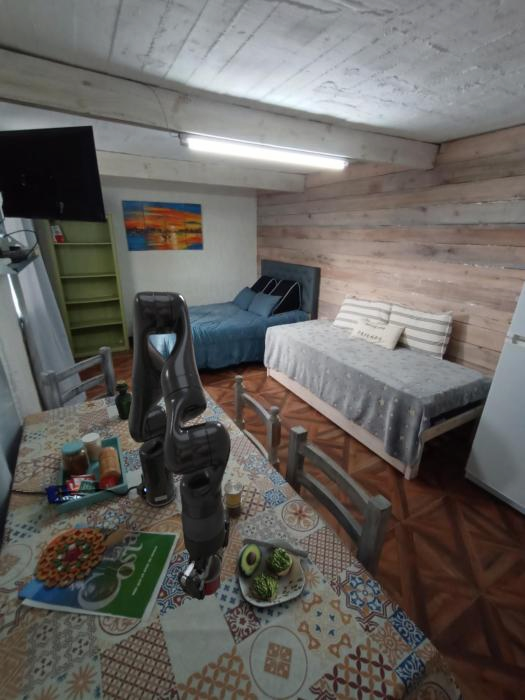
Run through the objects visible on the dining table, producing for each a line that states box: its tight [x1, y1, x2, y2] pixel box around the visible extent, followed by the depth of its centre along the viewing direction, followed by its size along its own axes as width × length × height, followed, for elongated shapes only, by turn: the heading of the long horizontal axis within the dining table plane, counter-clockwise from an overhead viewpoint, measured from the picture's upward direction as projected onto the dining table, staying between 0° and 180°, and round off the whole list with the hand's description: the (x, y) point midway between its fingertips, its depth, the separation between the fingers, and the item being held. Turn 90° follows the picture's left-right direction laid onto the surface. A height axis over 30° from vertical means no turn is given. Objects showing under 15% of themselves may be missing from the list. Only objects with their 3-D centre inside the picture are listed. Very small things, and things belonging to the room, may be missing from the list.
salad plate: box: [235, 537, 309, 609], centre depth 82 cm, size 19×18×5 cm
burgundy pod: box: [196, 554, 223, 597], centre depth 62 cm, size 6×6×5 cm
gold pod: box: [223, 479, 243, 505], centre depth 97 cm, size 6×6×5 cm
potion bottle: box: [114, 379, 132, 420], centre depth 147 cm, size 8×8×18 cm
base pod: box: [223, 495, 243, 518], centre depth 99 cm, size 6×6×5 cm
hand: (208, 581), depth 63 cm, fingers closed on burgundy pod, 5 cm apart
